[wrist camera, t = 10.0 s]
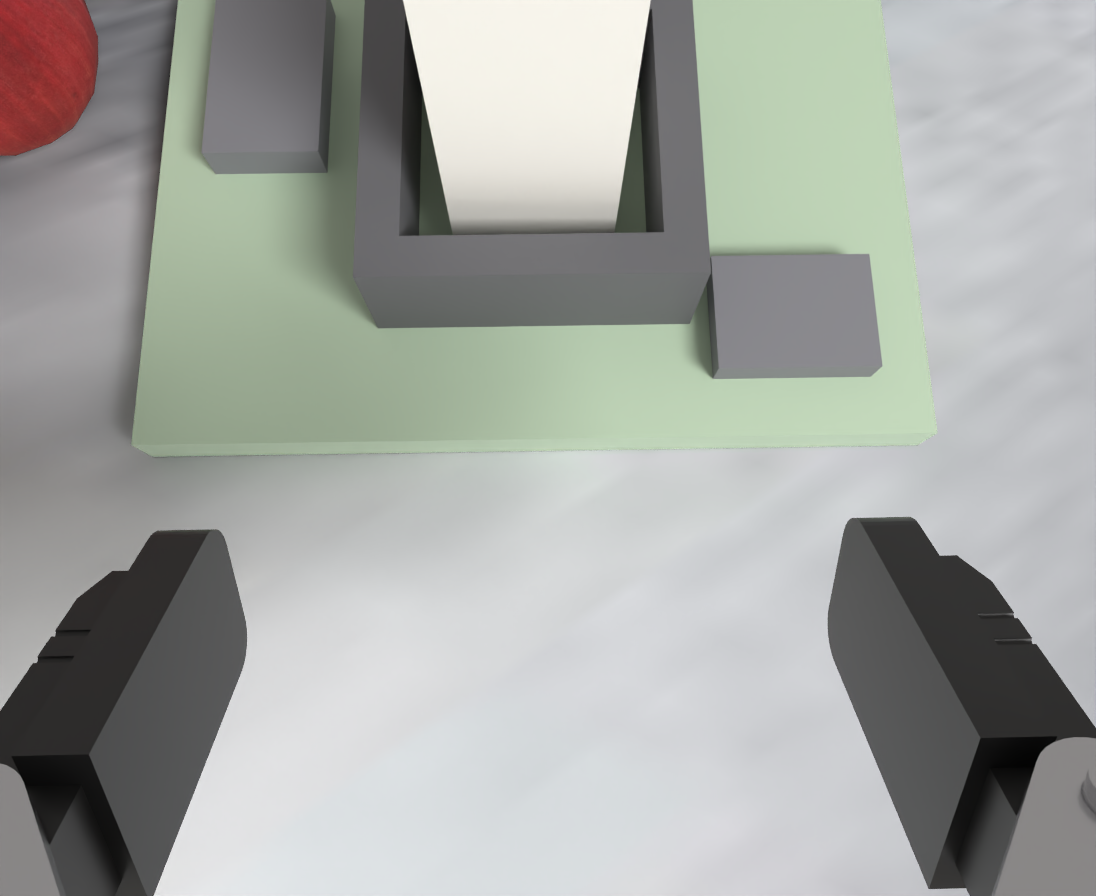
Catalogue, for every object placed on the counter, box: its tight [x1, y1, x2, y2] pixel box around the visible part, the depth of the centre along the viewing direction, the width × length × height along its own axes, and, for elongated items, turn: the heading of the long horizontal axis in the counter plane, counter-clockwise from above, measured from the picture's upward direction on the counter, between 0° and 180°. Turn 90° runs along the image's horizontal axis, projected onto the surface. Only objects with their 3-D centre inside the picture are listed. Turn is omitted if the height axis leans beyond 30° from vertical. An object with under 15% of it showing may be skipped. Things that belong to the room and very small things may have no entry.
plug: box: [403, 0, 651, 235], centre depth 19 cm, size 4×5×10 cm
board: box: [131, 0, 937, 457], centre depth 23 cm, size 20×14×4 cm
